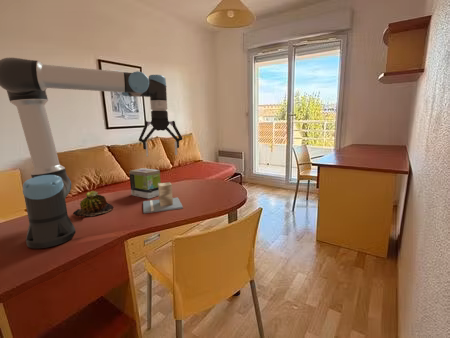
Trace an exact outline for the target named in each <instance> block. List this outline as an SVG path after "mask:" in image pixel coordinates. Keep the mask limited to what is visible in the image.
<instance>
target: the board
mask: <svg viewBox="0 0 450 338" xmlns="http://www.w3.org/2000/svg"><path fill="white" fill-rule="evenodd" d="M172 198H173V205H166V206H160V202H159V199H153V200H151V199H150V200H143V201H142V204H143V205H142V208H143V211H142V212H143V214H149V213H150V214H151V213H152V214H153V213H159V212H165V211H172V210H173V211H174V210H180V209H184V207H183V204H182V202H181V200H180V199H179V197H172Z"/></svg>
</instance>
